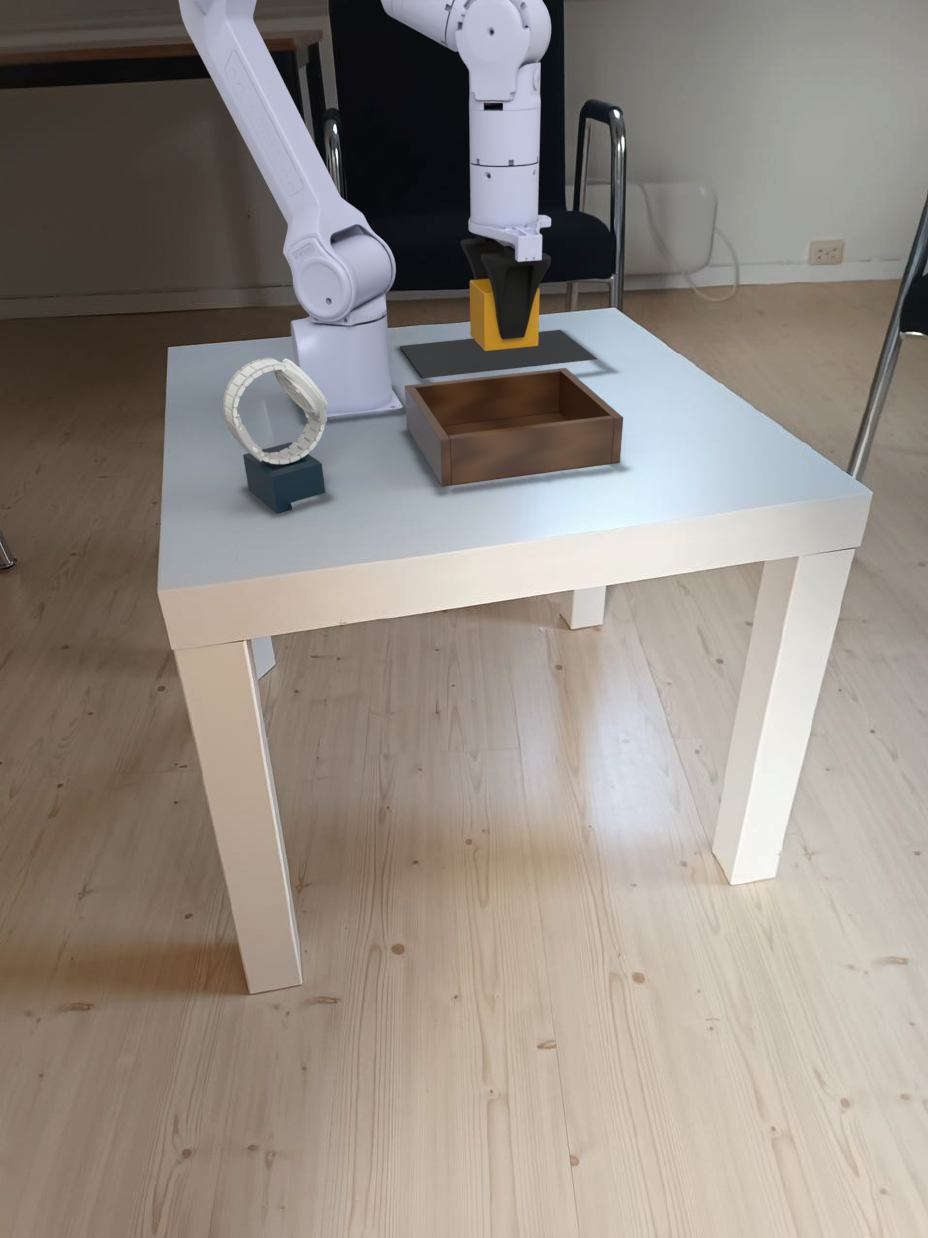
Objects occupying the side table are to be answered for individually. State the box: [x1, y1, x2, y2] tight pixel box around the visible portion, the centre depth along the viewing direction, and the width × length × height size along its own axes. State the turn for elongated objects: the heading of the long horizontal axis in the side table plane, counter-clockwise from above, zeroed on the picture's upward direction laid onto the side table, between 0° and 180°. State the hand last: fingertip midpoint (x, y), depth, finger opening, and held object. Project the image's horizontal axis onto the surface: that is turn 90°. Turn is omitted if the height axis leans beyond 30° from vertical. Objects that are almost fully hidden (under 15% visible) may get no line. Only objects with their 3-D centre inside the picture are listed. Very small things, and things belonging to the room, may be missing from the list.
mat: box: [399, 329, 598, 379], centre depth 104 cm, size 20×16×1 cm
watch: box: [222, 357, 328, 514], centre depth 73 cm, size 6×8×11 cm
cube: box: [469, 279, 540, 351], centre depth 83 cm, size 5×5×5 cm
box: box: [404, 367, 624, 488], centre depth 81 cm, size 16×14×5 cm
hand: (503, 328), depth 83 cm, fingers closed on cube, 5 cm apart
